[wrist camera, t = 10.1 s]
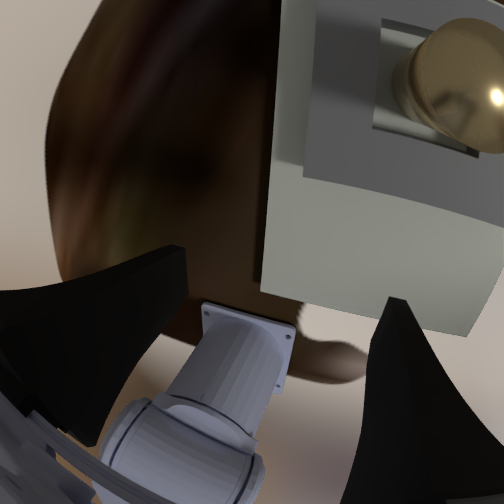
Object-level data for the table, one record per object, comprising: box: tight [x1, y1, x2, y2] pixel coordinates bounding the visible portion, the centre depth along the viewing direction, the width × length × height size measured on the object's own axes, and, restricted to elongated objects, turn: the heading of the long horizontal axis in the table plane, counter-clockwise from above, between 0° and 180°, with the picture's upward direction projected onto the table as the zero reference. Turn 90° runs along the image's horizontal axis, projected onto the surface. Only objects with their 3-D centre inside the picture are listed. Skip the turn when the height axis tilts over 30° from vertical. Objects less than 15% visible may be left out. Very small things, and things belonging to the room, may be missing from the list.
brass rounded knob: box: [391, 18, 504, 154], centre depth 8 cm, size 4×4×8 cm
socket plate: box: [260, 0, 504, 337], centre depth 13 cm, size 22×16×3 cm
